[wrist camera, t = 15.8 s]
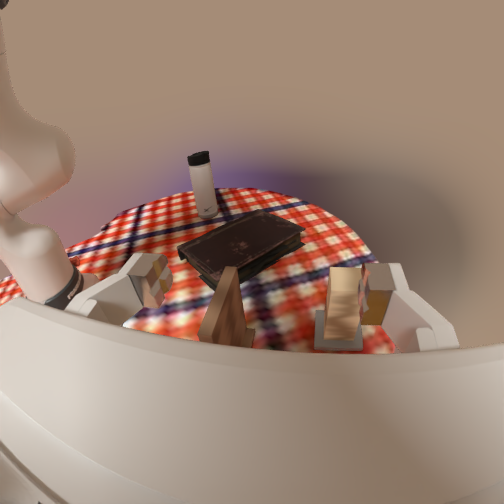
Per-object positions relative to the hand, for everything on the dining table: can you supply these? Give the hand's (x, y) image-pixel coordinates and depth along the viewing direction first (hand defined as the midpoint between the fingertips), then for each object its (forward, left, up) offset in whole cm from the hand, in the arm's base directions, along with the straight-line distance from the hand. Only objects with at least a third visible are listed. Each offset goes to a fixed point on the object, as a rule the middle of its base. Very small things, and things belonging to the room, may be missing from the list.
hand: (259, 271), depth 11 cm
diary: (-44, +11, -31) cm, 55 cm away
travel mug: (-68, +8, -30) cm, 75 cm away
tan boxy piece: (-14, +17, -29) cm, 37 cm away
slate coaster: (-14, +18, -30) cm, 38 cm away
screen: (-16, 0, -30) cm, 34 cm away
